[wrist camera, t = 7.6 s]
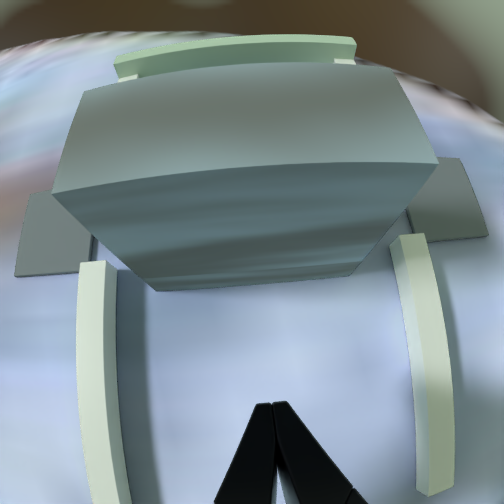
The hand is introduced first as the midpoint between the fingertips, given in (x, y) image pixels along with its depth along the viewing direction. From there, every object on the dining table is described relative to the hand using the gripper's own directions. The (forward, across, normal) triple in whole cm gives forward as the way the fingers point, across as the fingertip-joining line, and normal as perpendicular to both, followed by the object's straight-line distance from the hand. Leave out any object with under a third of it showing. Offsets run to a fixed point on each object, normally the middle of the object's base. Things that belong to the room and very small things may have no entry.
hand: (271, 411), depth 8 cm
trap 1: (+12, -12, -3) cm, 17 cm away
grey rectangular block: (+14, 0, -4) cm, 14 cm away
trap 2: (+12, +12, -3) cm, 17 cm away
